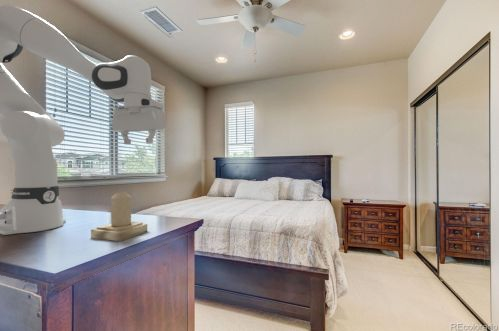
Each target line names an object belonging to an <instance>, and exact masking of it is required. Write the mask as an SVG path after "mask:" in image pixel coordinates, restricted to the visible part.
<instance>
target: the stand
mask: <svg viewBox="0 0 499 331" xmlns="http://www.w3.org/2000/svg"><path fill="white" fill-rule="evenodd" d="M146 231H147V232H148V223H143V222H139V221H131V224H130V225H126V226H112V225H111V222H110V223H107V224H103V225H99V226H96V227H95V228H92V229H91V230H90V239H97V240H98V239H99V240H108V241H109V240H110V241H114V242H115V241H116V242H122V241H125V240H127V239H130V238H133V237H135V236H138V235H141V234H144V233H147V232H146Z"/></svg>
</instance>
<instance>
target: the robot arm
mask: <svg viewBox="0 0 499 331" xmlns="http://www.w3.org/2000/svg"><path fill="white" fill-rule="evenodd" d="M23 49H26V50H27V51H30V52H31V53H33V54H34V55H36V56H39V57H41V58H43V59H45V60H47V61H50V62H53V63H55V64H57V65H60V66H62V67H64V68H67V69H68V70H71V71H73V72H75V73H77V74H79V75H80V76H83V77H84V78H86V79H87V80H89V81H90V82H91V83H93V84H94V85H95V87H97V88H98V89H99V90H100V91H102V92H103V93H104V94H105V95H107V96H108V97H109V98H110V99H111V100H112V101H114V102H118V103H123V105H119V106H117V107H116V108H115V109H114V110H113V114H112V122H111V128H112V131H113V132H118V133H120V135H121V137H122V139H123V144H124V145H131V141H132V140H131V139H130V137H129V136H128V135H129V133H131V132H147V133H148V136H147V137H146V138H145V143H146V144H153V143H154V138H155V135H156V134H157V131H164V130H165V128H166V114H165V111H164V109H165V104H163V103H161V102H160V101H158V100H154V99H152V94H151V88H152V71H151V67H150V65H149V63H148V62H147V61H146V60H145V59H143V58H141V57H139V56H137V55H126V56H125V57H124V58H122V59H120V60H117V61H113V62H101V63H98V64H96V63H94V61H91V60H90V59H89V58H87V56H85V55H84V54H83V53H82V52H81V51H80V50H78V48H77V47H76V46H75V45H74V44H73V43H72V41H70V40H69V39H68V38H67V37H66V35H64V34H63V33H62V32H61V31H60V30H59V29H57V28H56V27H55V26H54V25H52V24H50V23H49V22H47V21H46V20H45V19H43V18H41V17H40V16H38V15H36V14H33V13H32V12H30V11H28V10H25V9H23V8H22V7H19V6H16V5H15V4H14V5H13V4H10V3H9V4H7V3H4V4H3V3H2V4H0V116H1V120H0V130H1V132H2V135H4V137H5V138H6V140H7V142H8V144H9V147H10V151H11V154H12V158H13V162H14V177H15V178H14V181H15V182H14V184H15V185H14V188H13V189H10V191H12V192H10V194H11V197H10V198H11V199H10V200H9V202H8V203H7V204H5V205H4V206H3V207H2V208H0V235H3V236H5V235H6V236H7V235H14V234H16V235H17V234H24V233H25V234H26V233H34V232H42V231H48V230H51V229H52V230H53V229H56V228H59V227H61V226H63V225H64V224H65V223H66V222H67V220H66V218H64V213H63V206H62V201H61V200H60V199H59V196H60V186H59V185H58V163H57V161H56V159H55V157H54V153H53V152H54V151H53V149H52V148H53V147H56V146H59V145H60V144H62V142H63V141H64V139H65V130H64V128H63V127H62V126H61V125H60V124H59V123H58V121H56V120H55V119H54V117H53V116H51V114H49V113H48V111H46V110H45V109H44V107H42V106H41V105H40V104H39V103H38V102H37V101H36V100H35V99H34V98H33V97H32V96H31V95H30V94H29V93H28V92H27V91H26V89H25V88H24V87H23V86H22V85H21V84H20V83H19V81H17V79H16V78H15V77H14V76H13V74H11V72H10V71H9V70H8V69H7V68H6V67H5V65H4V64H5V63H11V62H12V60H13V59H15V58H16V57H18V56H19V55H20V54H21V53H22V52H23Z"/></svg>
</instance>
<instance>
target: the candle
mask: <svg viewBox="0 0 499 331" xmlns="http://www.w3.org/2000/svg"><path fill="white" fill-rule="evenodd" d="M110 216H111V217H110V221H111V222H110V223H111V225H112V226H126V225H130V224H131V222H132V196H131V195H130V194H128V193H127V192H125V191H123V192H119V193H114V195H112V196H111V198H110Z"/></svg>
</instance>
